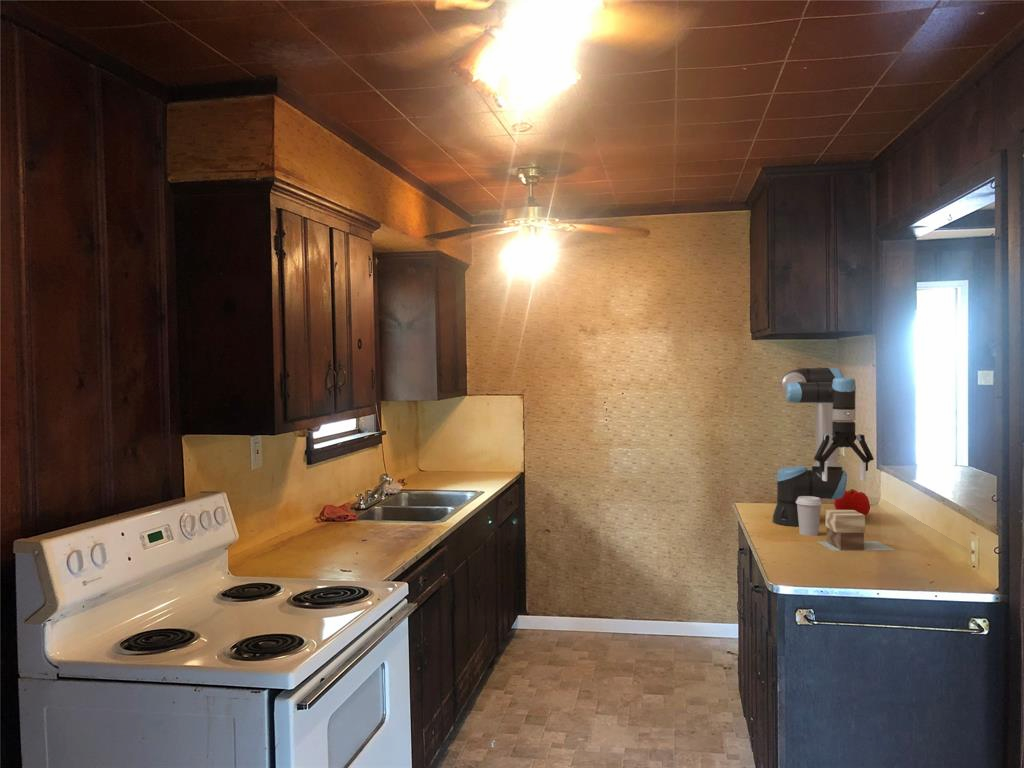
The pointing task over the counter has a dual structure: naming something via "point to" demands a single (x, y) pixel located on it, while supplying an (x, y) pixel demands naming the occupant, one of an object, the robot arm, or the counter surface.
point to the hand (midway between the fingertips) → (843, 480)
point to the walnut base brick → (846, 540)
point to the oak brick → (845, 521)
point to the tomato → (853, 502)
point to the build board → (867, 546)
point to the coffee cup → (808, 515)
